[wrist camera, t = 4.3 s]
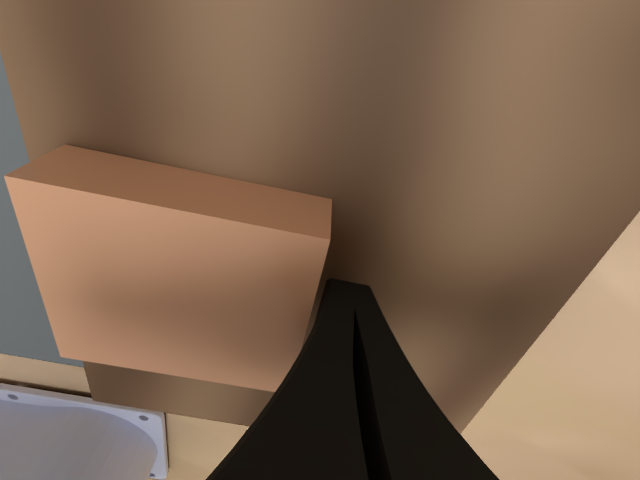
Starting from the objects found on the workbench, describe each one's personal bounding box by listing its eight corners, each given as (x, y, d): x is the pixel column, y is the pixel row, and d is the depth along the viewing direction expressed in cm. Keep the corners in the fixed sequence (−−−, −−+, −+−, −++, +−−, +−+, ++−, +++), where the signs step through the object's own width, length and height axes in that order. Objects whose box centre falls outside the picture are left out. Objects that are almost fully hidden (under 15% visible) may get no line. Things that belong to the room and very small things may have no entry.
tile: (97, 309, 12) (60, 357, 11) (65, 144, 9) (4, 175, 7) (295, 344, 13) (289, 394, 11) (332, 198, 10) (330, 240, 8)
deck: (122, 354, 18) (92, 400, 16) (12, -313, 7) (-133, -452, 5) (430, 407, 19) (441, 457, 17) (765, -98, 8) (917, -135, 6)
